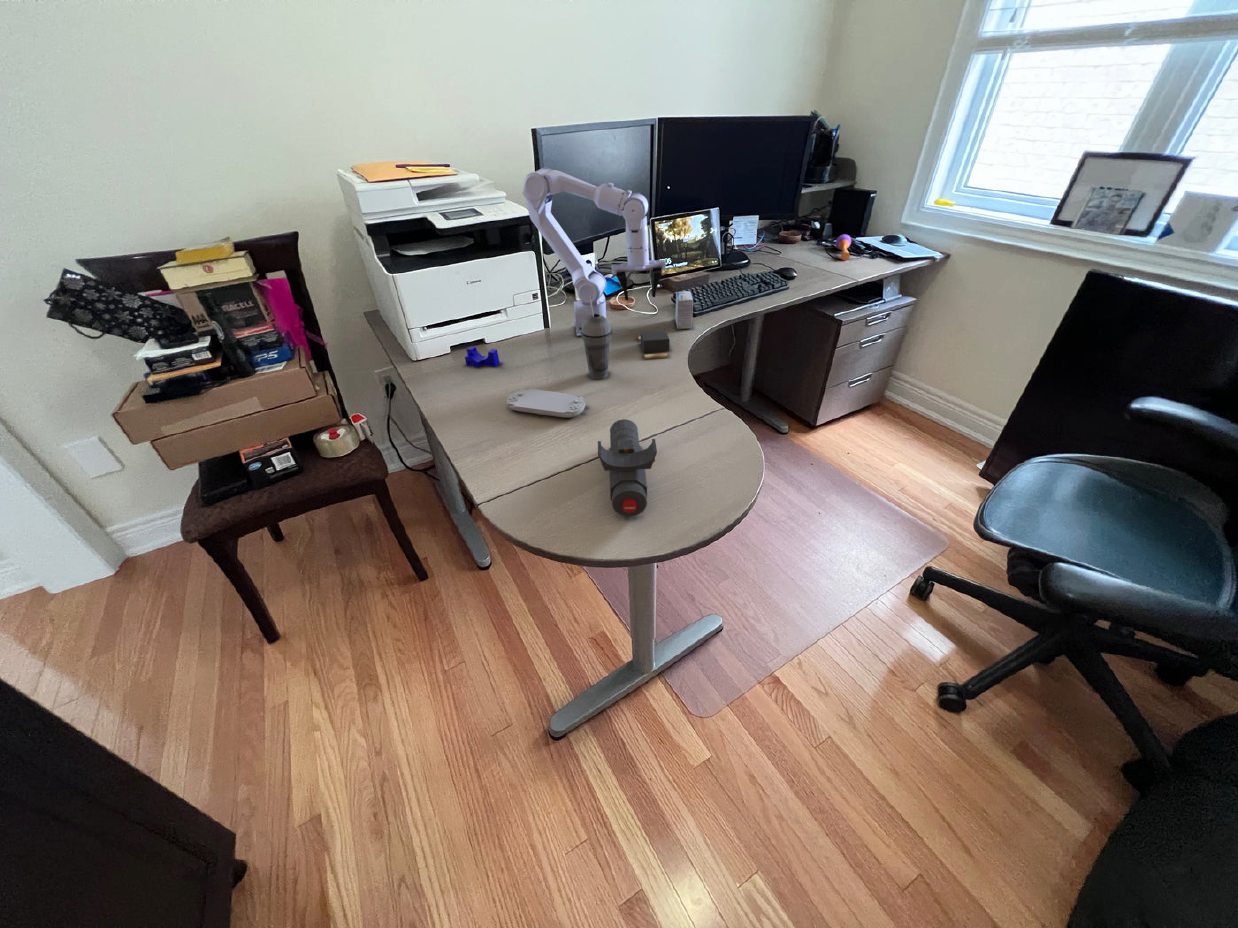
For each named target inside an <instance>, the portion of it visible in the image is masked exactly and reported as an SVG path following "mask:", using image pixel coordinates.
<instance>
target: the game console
mask: <svg viewBox="0 0 1238 928" xmlns="http://www.w3.org/2000/svg"><path fill="white" fill-rule="evenodd" d="M506 404H507V407H508V408H509V409H510V410H513V411H516V412H520V413H527V414H533V415H534V414H536V415H539V416H549V417H556V418H575V417H577V416H579V415H580V414H582V412H583V411H584V409H585V407H586V399H585V398H584V397H583V396H582V395H581V394H580V395H579V394H575V393H568V392H560V391H552V390H544V389H538V388H520V389H518V390H515V391H512V392H511V393H510V395H508V397H507V398H506Z"/></svg>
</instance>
